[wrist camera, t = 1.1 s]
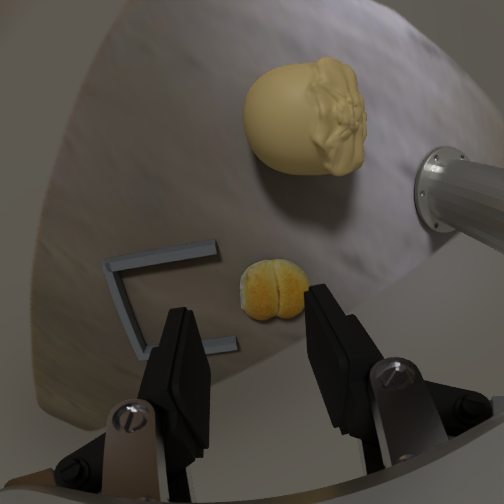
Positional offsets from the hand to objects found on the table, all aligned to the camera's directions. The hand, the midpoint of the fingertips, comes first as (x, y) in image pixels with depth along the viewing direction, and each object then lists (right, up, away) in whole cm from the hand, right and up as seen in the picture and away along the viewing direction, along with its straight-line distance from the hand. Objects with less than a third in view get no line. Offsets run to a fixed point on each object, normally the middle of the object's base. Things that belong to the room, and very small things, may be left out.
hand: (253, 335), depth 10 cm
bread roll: (+3, -2, +28) cm, 29 cm away
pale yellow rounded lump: (+5, +18, +21) cm, 28 cm away
